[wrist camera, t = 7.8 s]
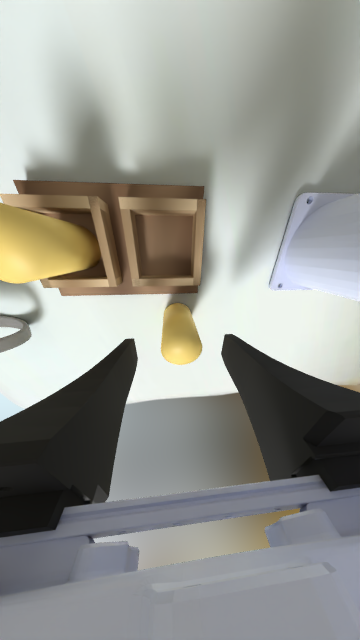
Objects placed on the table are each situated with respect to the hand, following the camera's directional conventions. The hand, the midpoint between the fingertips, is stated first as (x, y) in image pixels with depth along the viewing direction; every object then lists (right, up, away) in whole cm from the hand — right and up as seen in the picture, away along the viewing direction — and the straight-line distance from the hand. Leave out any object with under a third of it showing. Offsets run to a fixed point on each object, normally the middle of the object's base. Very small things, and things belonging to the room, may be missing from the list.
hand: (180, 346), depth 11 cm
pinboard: (-5, +9, +1) cm, 10 cm away
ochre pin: (0, +3, +5) cm, 6 cm away
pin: (-8, +8, 0) cm, 12 cm away
